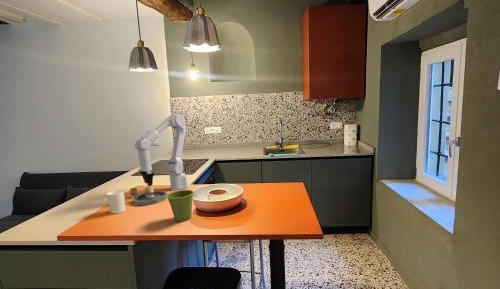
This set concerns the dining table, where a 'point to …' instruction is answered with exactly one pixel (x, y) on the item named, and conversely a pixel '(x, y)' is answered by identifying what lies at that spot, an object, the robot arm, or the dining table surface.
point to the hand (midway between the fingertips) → (148, 184)
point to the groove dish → (148, 202)
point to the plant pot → (181, 204)
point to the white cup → (116, 201)
